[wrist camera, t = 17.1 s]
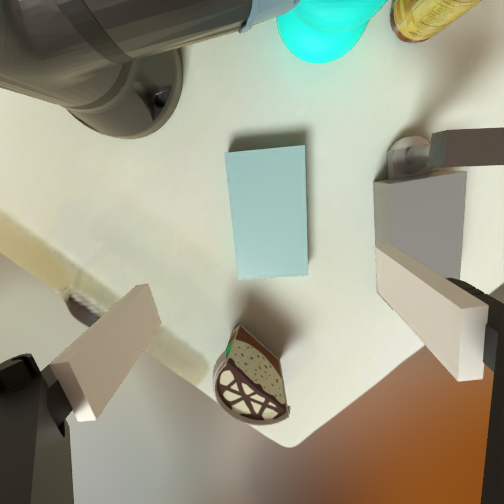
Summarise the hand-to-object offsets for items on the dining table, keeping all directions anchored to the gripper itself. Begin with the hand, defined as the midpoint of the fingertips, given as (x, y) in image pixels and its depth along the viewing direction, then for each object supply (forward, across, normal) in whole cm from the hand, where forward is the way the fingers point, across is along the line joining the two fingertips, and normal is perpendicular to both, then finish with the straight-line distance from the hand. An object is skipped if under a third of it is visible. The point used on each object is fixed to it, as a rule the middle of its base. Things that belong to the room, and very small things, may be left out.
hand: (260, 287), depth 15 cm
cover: (+23, +1, 0) cm, 23 cm away
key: (+20, +19, +5) cm, 28 cm away
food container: (+22, -7, -22) cm, 32 cm away
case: (+22, +19, -4) cm, 29 cm away
